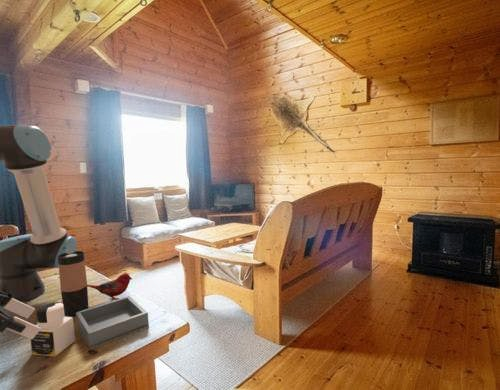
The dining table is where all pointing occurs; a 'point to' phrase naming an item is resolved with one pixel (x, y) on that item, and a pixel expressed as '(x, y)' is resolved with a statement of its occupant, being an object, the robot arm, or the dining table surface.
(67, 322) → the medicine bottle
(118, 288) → the decorative bird figurine
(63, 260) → the travel mug
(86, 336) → the open-top bin
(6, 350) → the dining table surface
